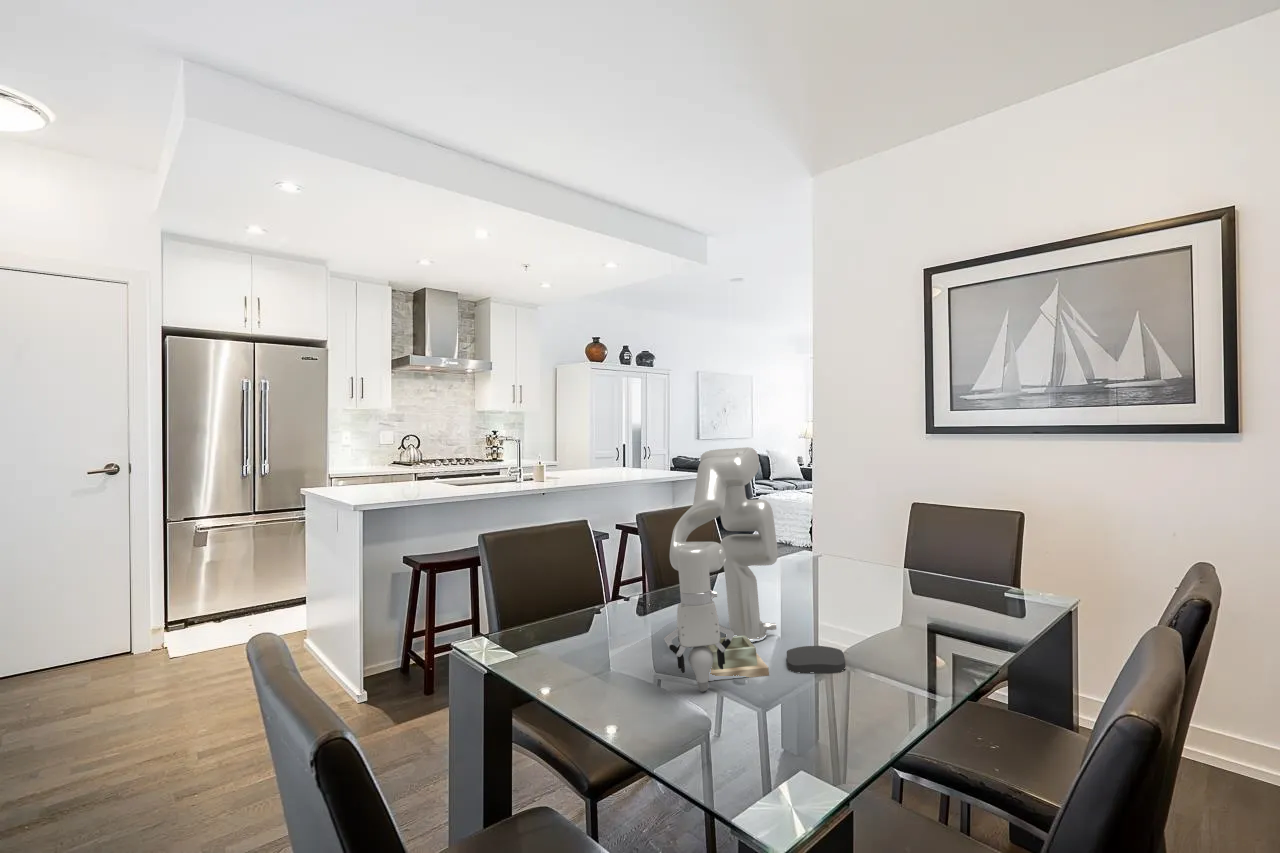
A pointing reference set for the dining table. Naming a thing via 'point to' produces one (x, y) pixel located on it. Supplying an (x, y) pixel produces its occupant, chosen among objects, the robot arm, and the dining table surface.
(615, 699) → the dining table surface
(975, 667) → the dining table surface
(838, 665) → the media streaming box
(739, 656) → the base
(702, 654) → the lightbulb
